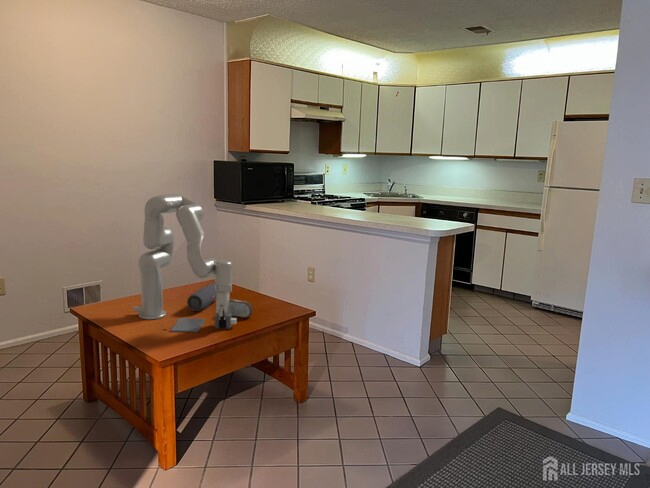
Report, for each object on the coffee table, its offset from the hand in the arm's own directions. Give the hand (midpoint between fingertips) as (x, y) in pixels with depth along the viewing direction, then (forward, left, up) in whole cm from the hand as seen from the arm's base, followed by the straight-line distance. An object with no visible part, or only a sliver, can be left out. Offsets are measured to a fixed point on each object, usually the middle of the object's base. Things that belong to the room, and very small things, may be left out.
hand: (223, 325), depth 222 cm
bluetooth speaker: (-14, +29, -1) cm, 32 cm away
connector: (+1, 0, -1) cm, 1 cm away
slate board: (-16, +1, -1) cm, 16 cm away
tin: (+5, +15, -1) cm, 16 cm away
